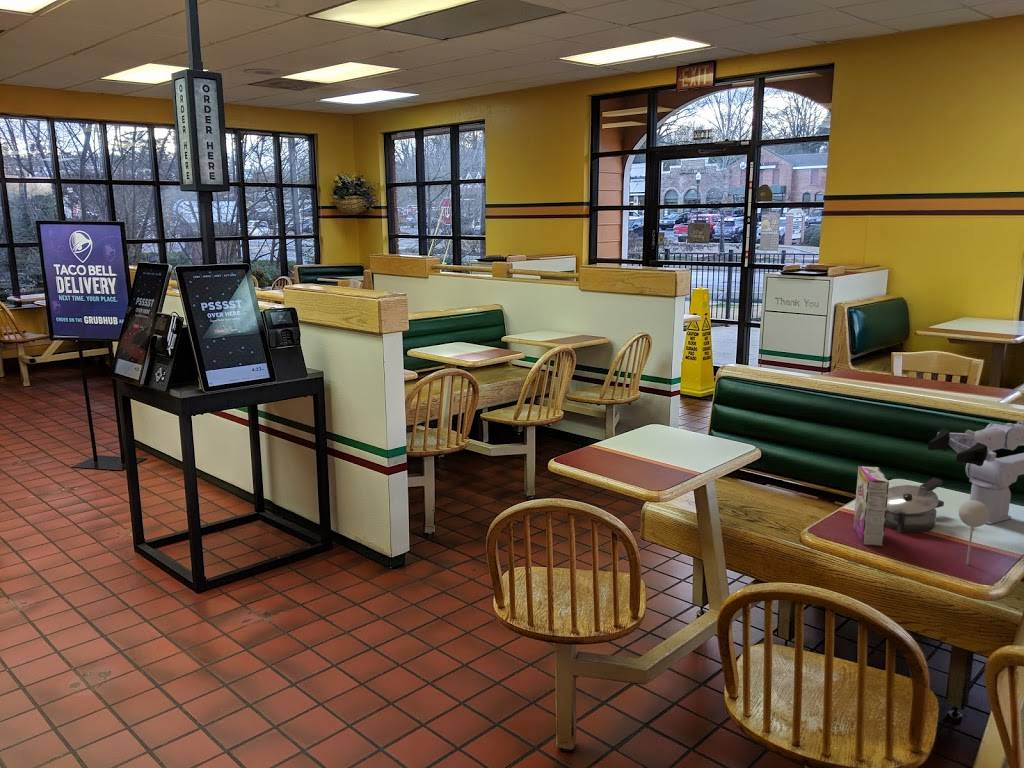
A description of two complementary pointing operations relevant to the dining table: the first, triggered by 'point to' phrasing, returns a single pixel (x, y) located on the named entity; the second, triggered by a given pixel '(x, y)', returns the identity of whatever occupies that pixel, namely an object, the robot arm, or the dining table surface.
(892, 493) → the lid
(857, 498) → the candy bar box
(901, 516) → the pot
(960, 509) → the lollipop
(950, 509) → the dining table surface
